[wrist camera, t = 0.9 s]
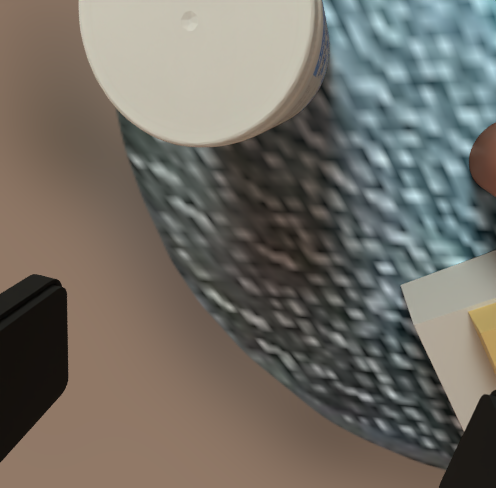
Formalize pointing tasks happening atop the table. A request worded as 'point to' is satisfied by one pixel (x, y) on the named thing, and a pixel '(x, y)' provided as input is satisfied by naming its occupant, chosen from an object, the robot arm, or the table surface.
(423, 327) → the white and yellow block
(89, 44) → the supplement tub
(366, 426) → the table surface
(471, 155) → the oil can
